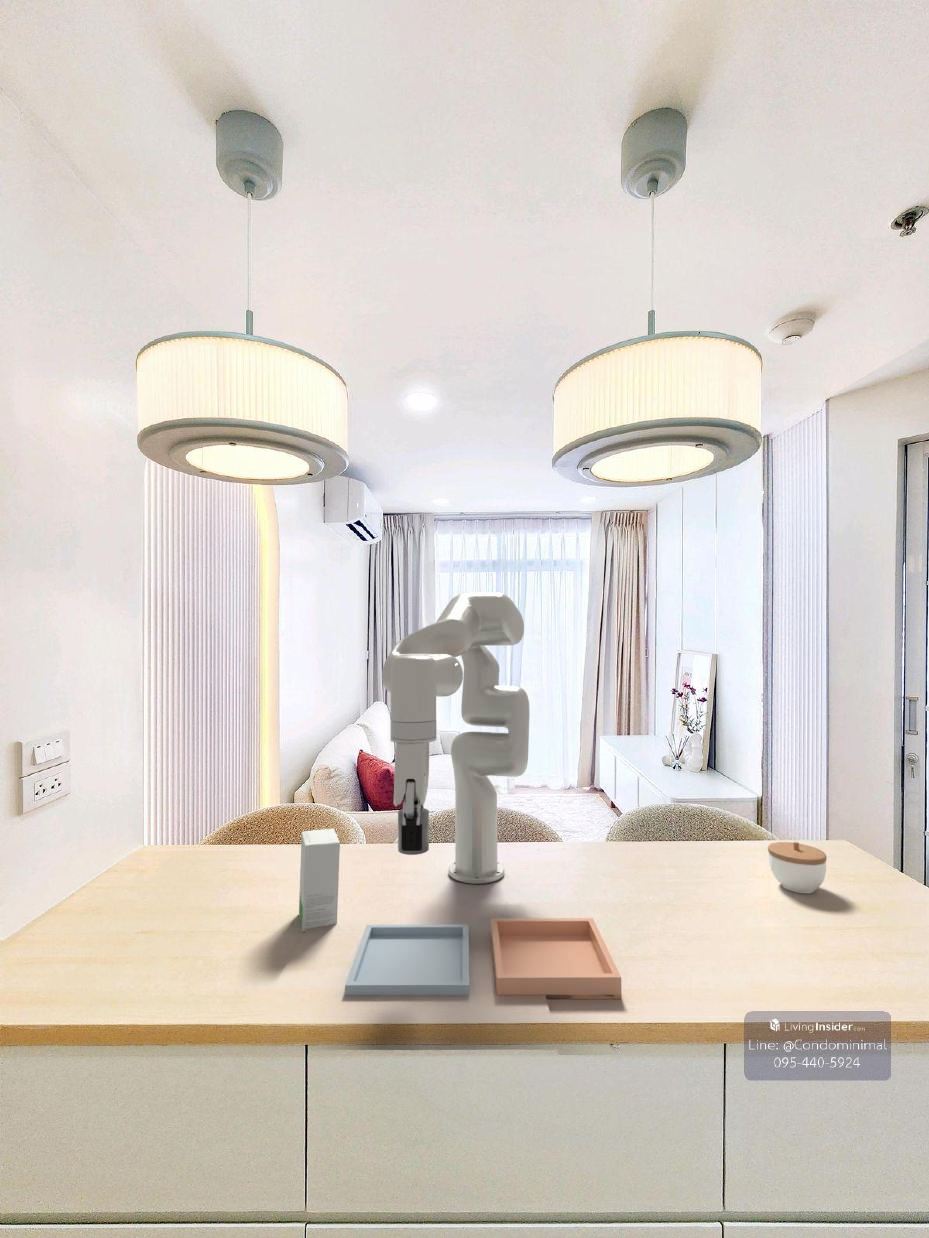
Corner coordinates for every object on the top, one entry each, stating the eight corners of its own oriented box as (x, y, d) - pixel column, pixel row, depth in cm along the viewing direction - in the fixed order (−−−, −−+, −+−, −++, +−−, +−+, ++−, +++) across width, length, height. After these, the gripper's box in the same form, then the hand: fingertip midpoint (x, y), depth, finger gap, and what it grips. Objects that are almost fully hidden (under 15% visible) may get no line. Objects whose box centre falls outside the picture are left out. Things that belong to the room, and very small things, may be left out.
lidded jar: (811, 878, 124) (809, 834, 124) (838, 899, 113) (837, 852, 114) (760, 876, 125) (759, 833, 126) (782, 897, 114) (781, 850, 115)
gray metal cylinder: (399, 843, 94) (399, 807, 94) (429, 843, 94) (429, 807, 94) (396, 854, 89) (396, 816, 89) (427, 854, 89) (427, 816, 89)
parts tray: (366, 936, 99) (366, 924, 99) (468, 935, 99) (468, 924, 99) (344, 999, 81) (345, 985, 81) (469, 999, 81) (469, 984, 81)
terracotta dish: (491, 935, 99) (491, 918, 99) (593, 935, 99) (592, 918, 99) (497, 998, 81) (497, 977, 81) (621, 998, 81) (621, 977, 81)
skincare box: (298, 913, 108) (299, 830, 109) (333, 907, 110) (334, 826, 111) (302, 933, 100) (303, 844, 101) (339, 927, 102) (340, 840, 103)
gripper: (396, 724, 101) (396, 827, 100) (383, 739, 84) (382, 864, 83) (438, 723, 101) (438, 827, 100) (433, 739, 84) (433, 863, 83)
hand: (413, 842), depth 91 cm, fingers closed on gray metal cylinder, 5 cm apart
